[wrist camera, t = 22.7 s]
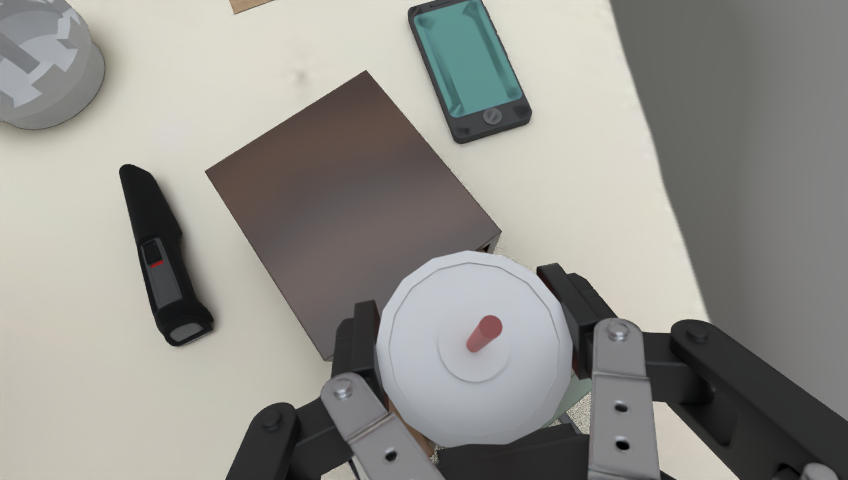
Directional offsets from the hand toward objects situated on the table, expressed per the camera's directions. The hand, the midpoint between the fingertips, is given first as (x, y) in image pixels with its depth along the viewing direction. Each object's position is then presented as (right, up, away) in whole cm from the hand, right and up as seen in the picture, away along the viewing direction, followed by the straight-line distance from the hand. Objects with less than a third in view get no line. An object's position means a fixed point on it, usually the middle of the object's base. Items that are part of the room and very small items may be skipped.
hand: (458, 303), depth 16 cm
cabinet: (-6, +2, +20) cm, 21 cm away
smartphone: (+3, +19, +25) cm, 31 cm away
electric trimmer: (-22, +2, +19) cm, 29 cm away
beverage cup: (+1, -4, +6) cm, 7 cm away
